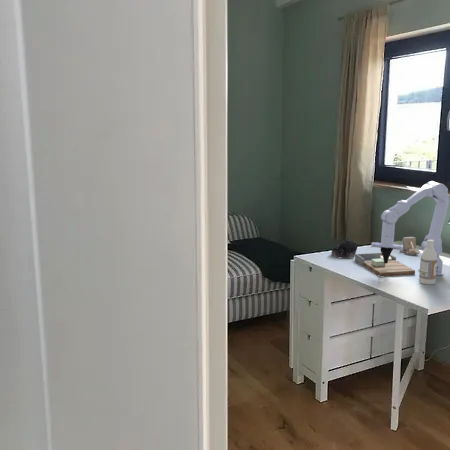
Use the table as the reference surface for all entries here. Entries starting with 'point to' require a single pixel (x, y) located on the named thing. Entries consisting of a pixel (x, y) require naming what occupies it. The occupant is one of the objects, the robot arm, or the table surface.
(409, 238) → the decorative sculpture
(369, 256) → the box
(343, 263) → the table surface
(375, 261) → the sage tile
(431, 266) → the bath foam
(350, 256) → the crystal cluster
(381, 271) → the walnut plate
